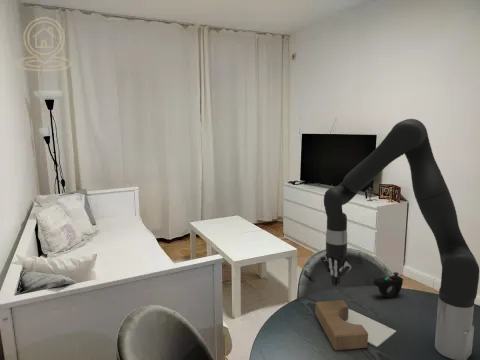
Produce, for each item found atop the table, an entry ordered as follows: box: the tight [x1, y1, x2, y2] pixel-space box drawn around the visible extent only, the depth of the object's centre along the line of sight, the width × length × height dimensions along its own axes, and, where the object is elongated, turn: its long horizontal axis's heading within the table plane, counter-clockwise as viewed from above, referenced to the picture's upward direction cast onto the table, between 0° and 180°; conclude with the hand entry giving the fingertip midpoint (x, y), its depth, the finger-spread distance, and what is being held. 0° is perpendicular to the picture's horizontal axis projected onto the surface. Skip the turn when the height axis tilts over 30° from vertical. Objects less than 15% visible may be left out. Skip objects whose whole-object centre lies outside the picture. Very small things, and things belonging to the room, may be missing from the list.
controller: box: [372, 271, 404, 299], centre depth 140 cm, size 4×12×10 cm, turn 102°
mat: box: [344, 308, 397, 348], centre depth 121 cm, size 20×12×1 cm, turn 39°
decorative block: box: [314, 299, 369, 351], centre depth 118 cm, size 11×6×20 cm
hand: (335, 284), depth 127 cm, fingers closed
